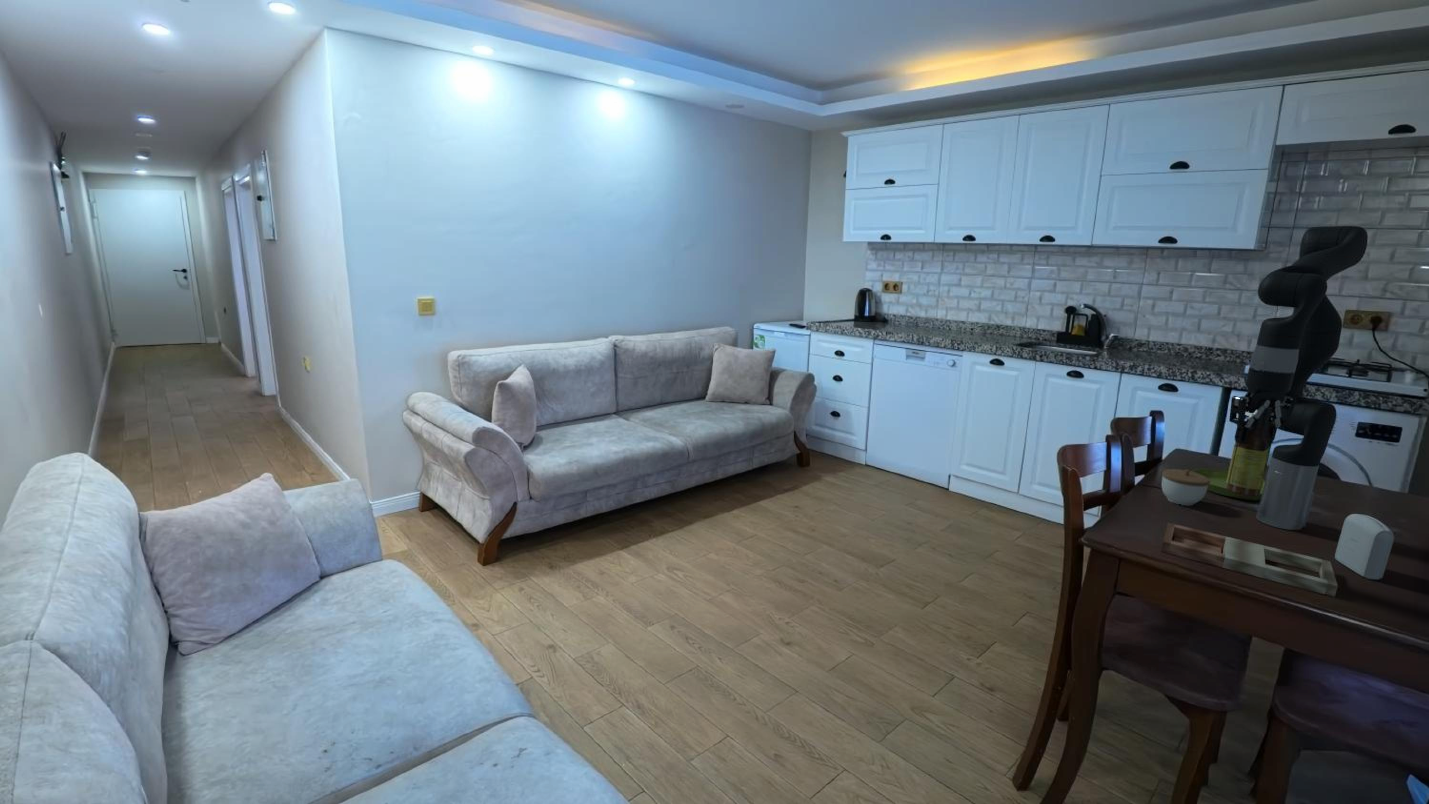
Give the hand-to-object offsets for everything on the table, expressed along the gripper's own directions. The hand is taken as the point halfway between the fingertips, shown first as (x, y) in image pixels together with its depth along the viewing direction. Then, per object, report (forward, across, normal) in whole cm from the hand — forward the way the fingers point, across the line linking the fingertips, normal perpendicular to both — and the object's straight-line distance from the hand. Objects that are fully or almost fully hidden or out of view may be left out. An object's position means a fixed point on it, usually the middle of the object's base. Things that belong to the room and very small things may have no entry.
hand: (1253, 442), depth 143 cm
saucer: (+28, -42, -39) cm, 64 cm away
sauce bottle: (+12, 0, 0) cm, 12 cm away
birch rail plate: (+28, -2, +2) cm, 28 cm away
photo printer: (+28, -26, +8) cm, 39 cm away
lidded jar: (+28, -18, -32) cm, 46 cm away
